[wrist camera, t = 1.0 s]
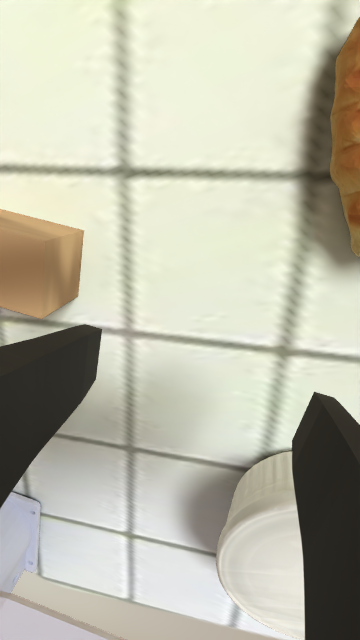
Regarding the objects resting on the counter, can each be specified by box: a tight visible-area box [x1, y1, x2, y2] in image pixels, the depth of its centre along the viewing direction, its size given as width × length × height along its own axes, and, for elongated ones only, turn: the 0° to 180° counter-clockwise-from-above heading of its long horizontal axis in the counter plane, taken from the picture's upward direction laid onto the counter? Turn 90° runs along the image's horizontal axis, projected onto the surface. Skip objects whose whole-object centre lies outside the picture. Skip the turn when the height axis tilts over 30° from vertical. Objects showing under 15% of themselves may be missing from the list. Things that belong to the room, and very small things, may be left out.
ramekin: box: [216, 451, 305, 640], centre depth 21 cm, size 11×11×5 cm
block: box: [0, 209, 84, 319], centre depth 19 cm, size 4×7×4 cm, turn 79°
